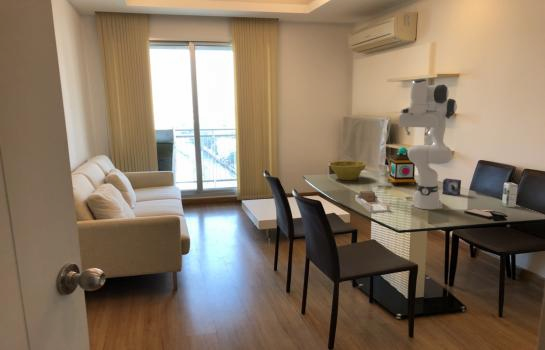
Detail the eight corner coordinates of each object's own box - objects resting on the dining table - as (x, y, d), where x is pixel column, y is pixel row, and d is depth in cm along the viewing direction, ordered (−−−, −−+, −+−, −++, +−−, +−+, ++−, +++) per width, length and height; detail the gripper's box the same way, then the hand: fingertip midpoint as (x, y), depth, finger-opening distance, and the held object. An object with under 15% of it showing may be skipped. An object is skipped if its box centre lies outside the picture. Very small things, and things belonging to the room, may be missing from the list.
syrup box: (501, 204, 248) (503, 182, 245) (510, 204, 248) (512, 182, 245) (506, 207, 243) (508, 184, 240) (516, 207, 242) (518, 184, 240)
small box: (441, 194, 279) (442, 179, 277) (445, 192, 284) (446, 178, 282) (457, 196, 272) (458, 181, 270) (460, 194, 277) (461, 179, 275)
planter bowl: (324, 176, 353) (324, 161, 350) (359, 174, 356) (359, 159, 354) (334, 183, 321) (334, 167, 319) (372, 181, 325) (372, 165, 322)
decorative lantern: (418, 186, 304) (420, 148, 298) (392, 186, 304) (393, 148, 299) (409, 181, 324) (411, 145, 318) (385, 181, 324) (386, 145, 318)
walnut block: (359, 199, 264) (360, 191, 263) (371, 199, 265) (371, 190, 264) (362, 202, 258) (362, 193, 257) (374, 201, 259) (375, 192, 258)
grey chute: (355, 200, 268) (355, 194, 267) (372, 199, 269) (372, 193, 268) (370, 212, 239) (370, 205, 238) (389, 211, 240) (389, 204, 239)
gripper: (440, 109, 208) (438, 135, 211) (401, 109, 219) (400, 134, 222) (437, 110, 203) (436, 136, 206) (398, 110, 214) (397, 135, 217)
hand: (417, 135), depth 214 cm, fingers open, 8 cm apart
